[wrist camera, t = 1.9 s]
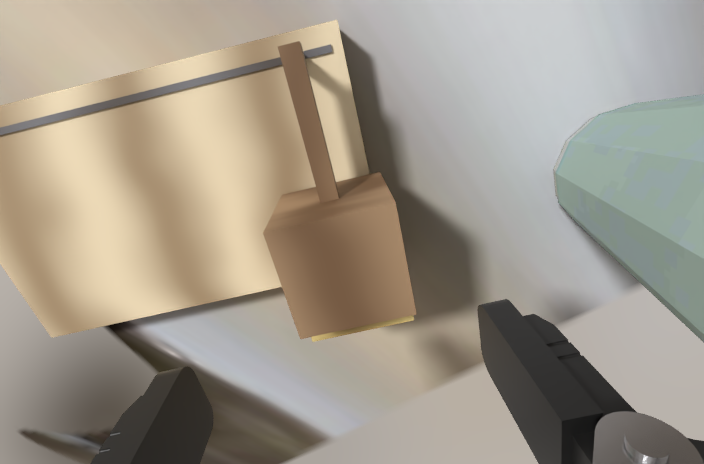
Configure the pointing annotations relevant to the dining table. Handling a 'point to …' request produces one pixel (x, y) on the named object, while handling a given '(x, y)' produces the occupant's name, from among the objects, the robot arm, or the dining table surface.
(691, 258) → the disposable coffee cup
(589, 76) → the dining table surface
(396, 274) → the brown block with handle
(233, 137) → the board
